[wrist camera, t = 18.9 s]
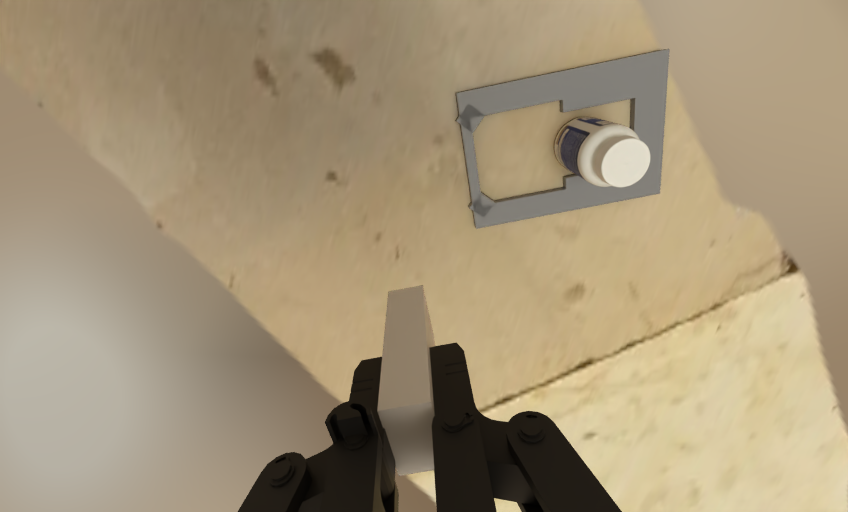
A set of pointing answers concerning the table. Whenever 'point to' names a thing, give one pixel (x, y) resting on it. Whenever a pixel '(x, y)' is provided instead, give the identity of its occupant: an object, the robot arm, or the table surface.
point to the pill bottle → (602, 152)
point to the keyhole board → (575, 91)
